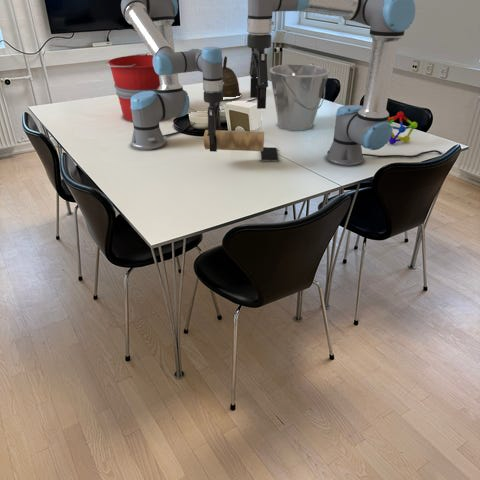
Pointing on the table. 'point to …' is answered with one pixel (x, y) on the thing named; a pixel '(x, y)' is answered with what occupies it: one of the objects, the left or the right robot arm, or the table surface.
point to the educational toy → (401, 128)
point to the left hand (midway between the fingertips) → (215, 147)
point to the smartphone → (269, 154)
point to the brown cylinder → (237, 140)
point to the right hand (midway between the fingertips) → (257, 102)
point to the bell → (229, 82)
